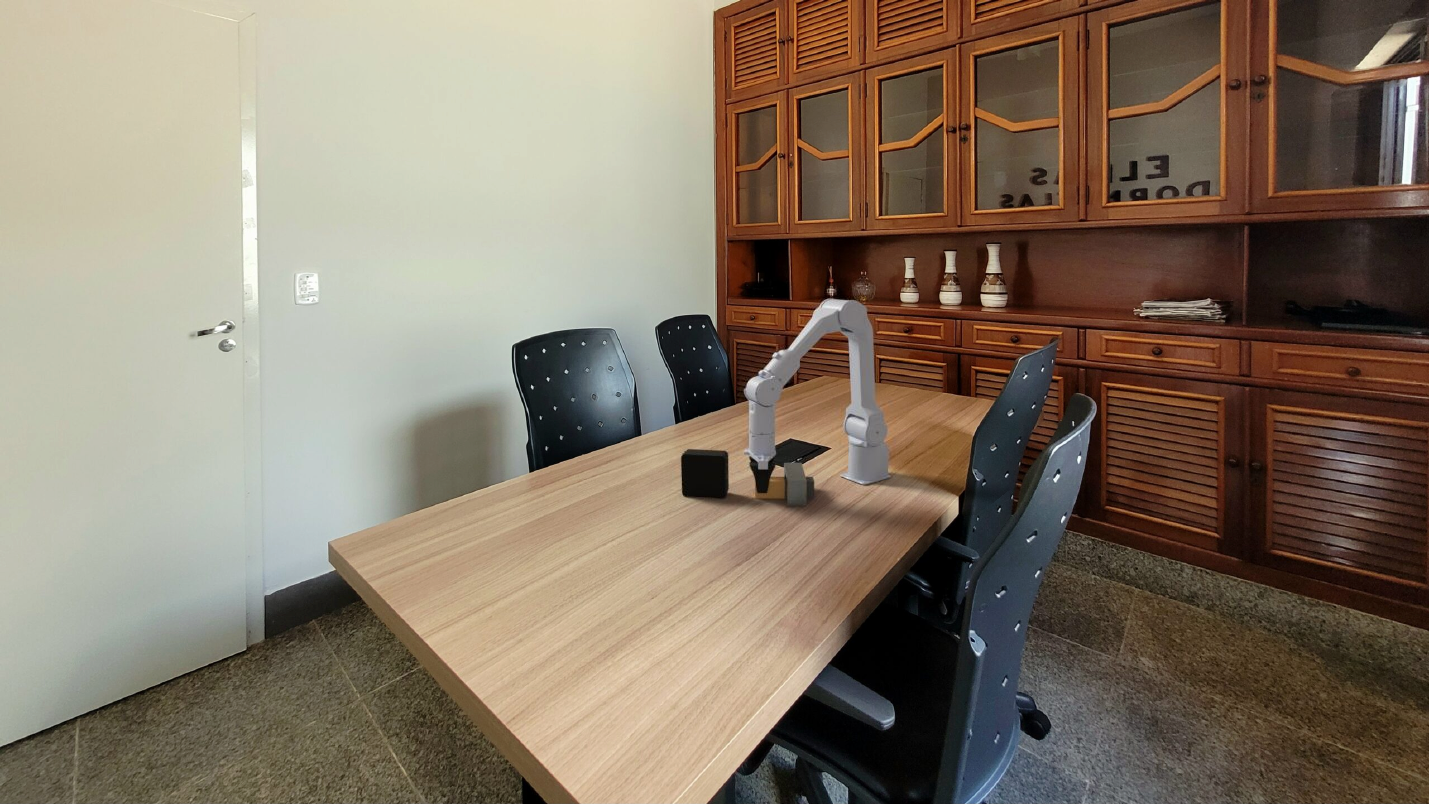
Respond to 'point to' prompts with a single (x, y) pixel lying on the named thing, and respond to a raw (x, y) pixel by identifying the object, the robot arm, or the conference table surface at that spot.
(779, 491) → the orange and grey bar
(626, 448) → the conference table surface
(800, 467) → the grey rectangular block
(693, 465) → the electronic device
